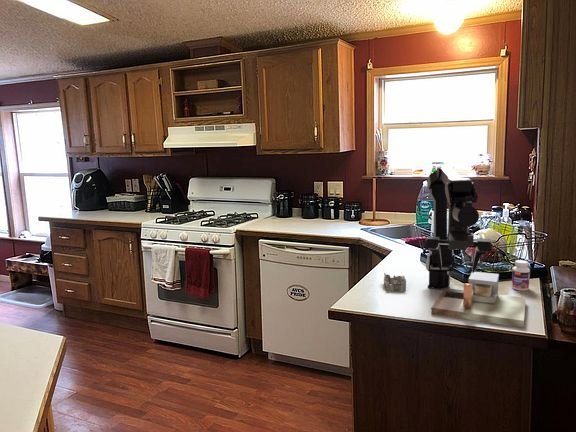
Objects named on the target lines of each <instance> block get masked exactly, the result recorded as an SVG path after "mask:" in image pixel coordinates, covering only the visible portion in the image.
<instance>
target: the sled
mask: <svg viewBox="0 0 576 432" xmlns="http://www.w3.org/2000/svg"><path fill="white" fill-rule="evenodd" d="M463 290H464V293H463V299H462V300H463V307H464V308H472V301H480V302H487V303H495V300H496V296H497V291H493V294H492V297H485V296H477V295H474V294H475V289H472V284H471V283H466V282H465V283H463Z"/></svg>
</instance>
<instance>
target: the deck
mask: <svg viewBox="0 0 576 432" xmlns="http://www.w3.org/2000/svg"><path fill="white" fill-rule="evenodd" d="M463 293H464V289H458V288H457V289H455V288H449V287H448V288H443V289H441V292H440V293H439V295H438V296H437V298H436V300H435V301H434V303H433V305H432V306H431V313H430V314H431V315H437V316H441V317H442V316H444V317H451V318H457V319H463V320H469V321H470V320H471V321H477V322H484V323H490V324H497V325H504V326H511V327H517V328H522V329H523V328H524V326H525V325H524V324H525V314H526V313H525V312H526V301H527V299H526V297H525V296H524V297H523V296H516V295H515V296H514V295H506V294H500V293H498V297H496V300H495V303H487V302H480V301H472V308H464V307H463ZM474 295H475V294H474ZM491 297H492V296H491Z"/></svg>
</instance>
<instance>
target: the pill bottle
mask: <svg viewBox="0 0 576 432" xmlns="http://www.w3.org/2000/svg"><path fill="white" fill-rule="evenodd" d="M514 265H515V266H513V267H512V272H511V273H512V274H511V289H514V290H516V291H525V292H526V291H528V290H529V288H530V278H531V277H530V276H531V269H530V268H529V261H528V260H521V259H517V260H515V261H514Z"/></svg>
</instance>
